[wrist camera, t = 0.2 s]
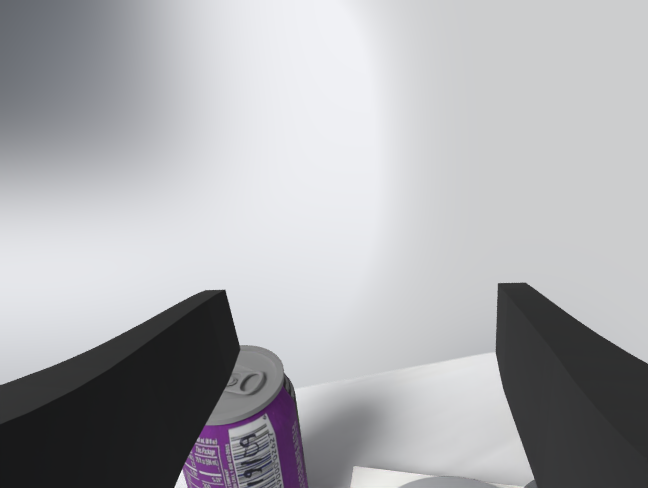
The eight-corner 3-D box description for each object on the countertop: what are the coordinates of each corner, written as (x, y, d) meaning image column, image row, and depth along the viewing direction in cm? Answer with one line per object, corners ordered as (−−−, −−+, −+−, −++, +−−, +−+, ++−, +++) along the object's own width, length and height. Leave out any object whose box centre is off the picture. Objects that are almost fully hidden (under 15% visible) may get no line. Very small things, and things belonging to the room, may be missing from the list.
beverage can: (324, 485, 30) (308, 346, 25) (290, 596, 23) (261, 438, 19) (235, 467, 32) (206, 335, 27) (182, 566, 25) (133, 416, 21)
